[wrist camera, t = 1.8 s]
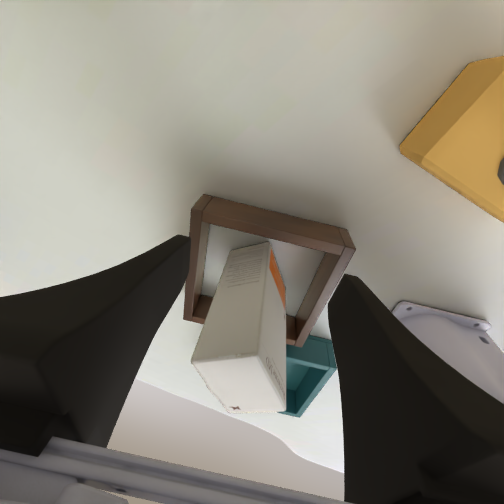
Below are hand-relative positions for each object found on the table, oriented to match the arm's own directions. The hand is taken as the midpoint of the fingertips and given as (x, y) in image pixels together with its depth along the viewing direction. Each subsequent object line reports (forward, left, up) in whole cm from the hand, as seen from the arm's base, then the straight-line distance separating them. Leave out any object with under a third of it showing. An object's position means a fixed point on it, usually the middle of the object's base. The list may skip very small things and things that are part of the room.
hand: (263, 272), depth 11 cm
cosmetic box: (-1, +8, -11) cm, 13 cm away
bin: (-6, +22, -10) cm, 25 cm away
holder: (-1, +8, -10) cm, 13 cm away
